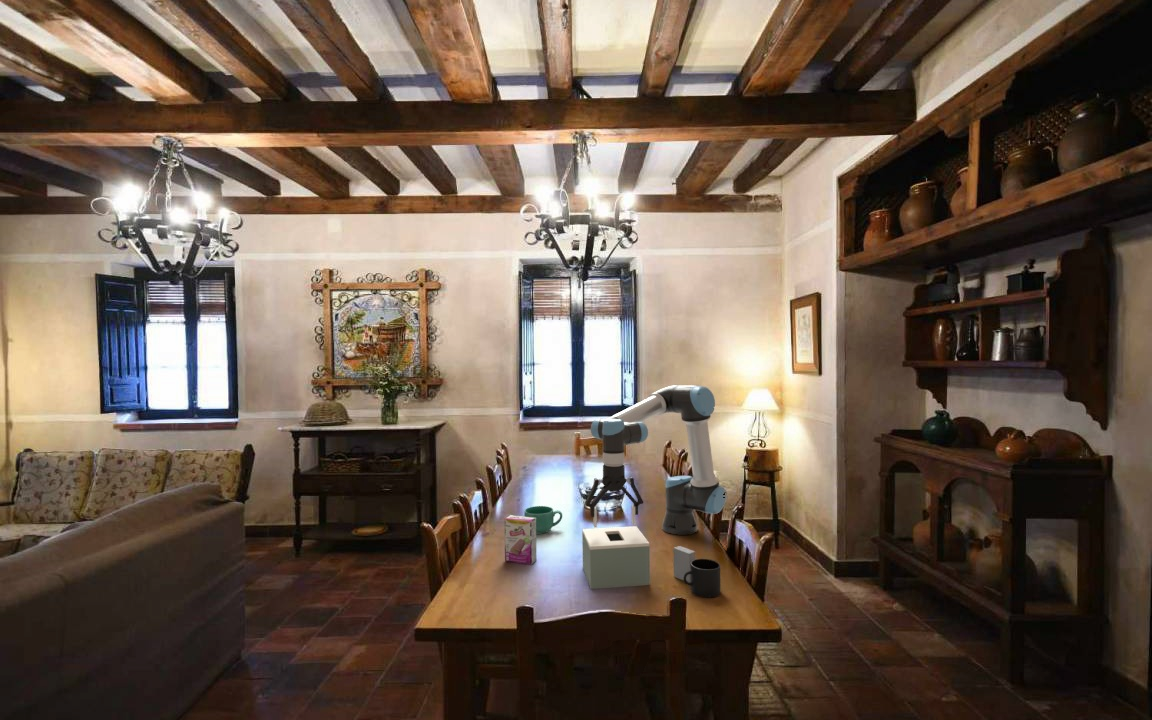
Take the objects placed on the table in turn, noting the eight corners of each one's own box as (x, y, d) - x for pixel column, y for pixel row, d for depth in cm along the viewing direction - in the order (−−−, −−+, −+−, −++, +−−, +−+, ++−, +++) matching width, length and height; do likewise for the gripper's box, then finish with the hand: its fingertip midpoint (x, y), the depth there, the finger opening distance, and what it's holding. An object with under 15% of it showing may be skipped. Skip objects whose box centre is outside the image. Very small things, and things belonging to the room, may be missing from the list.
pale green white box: (636, 564, 199) (636, 526, 199) (649, 584, 181) (649, 543, 181) (582, 567, 196) (582, 529, 196) (590, 589, 179) (590, 546, 178)
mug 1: (523, 536, 231) (522, 514, 231) (526, 526, 244) (526, 505, 244) (561, 536, 231) (561, 513, 231) (563, 526, 244) (562, 505, 244)
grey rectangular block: (679, 574, 190) (679, 545, 190) (695, 580, 184) (695, 551, 184) (673, 576, 188) (673, 547, 188) (689, 583, 182) (689, 553, 182)
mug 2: (679, 587, 179) (678, 559, 179) (714, 584, 181) (714, 557, 181) (688, 599, 170) (688, 571, 170) (725, 597, 171) (724, 568, 171)
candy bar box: (504, 562, 203) (503, 518, 203) (510, 557, 208) (509, 514, 207) (531, 565, 199) (531, 520, 199) (537, 560, 204) (536, 517, 204)
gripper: (645, 460, 194) (646, 519, 194) (576, 463, 190) (577, 523, 191) (651, 464, 186) (652, 526, 187) (579, 467, 183) (580, 530, 183)
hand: (614, 525), depth 189 cm, fingers open, 13 cm apart
